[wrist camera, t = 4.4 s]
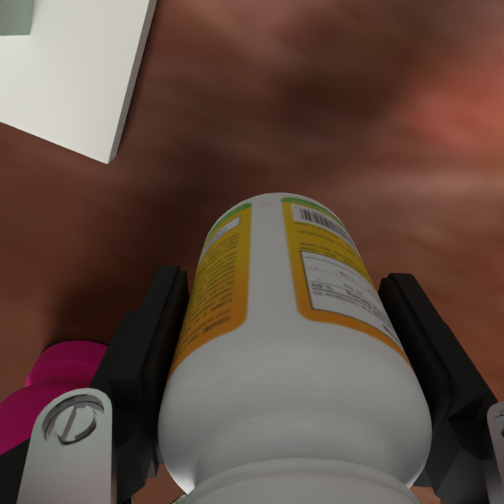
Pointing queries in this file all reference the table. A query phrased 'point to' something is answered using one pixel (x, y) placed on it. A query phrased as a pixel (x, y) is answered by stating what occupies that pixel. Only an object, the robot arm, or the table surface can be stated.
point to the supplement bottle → (290, 370)
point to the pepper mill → (47, 387)
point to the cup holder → (72, 69)
